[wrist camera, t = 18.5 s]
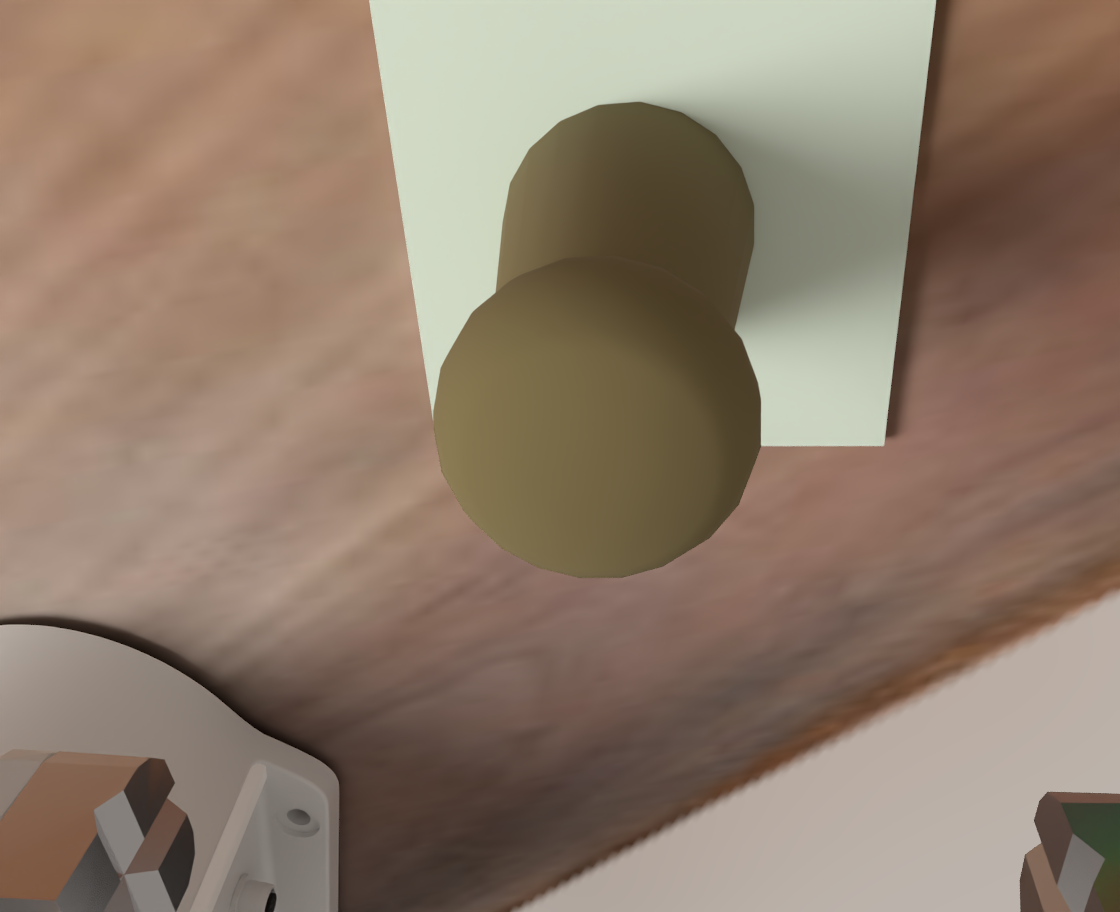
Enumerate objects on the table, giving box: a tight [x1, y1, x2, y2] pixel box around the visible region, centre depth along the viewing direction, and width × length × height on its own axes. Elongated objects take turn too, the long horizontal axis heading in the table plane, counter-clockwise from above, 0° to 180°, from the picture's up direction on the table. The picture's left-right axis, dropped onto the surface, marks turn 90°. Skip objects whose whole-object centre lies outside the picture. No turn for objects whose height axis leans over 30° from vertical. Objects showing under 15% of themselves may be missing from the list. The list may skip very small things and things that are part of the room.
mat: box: [369, 0, 936, 446], centre depth 24 cm, size 12×12×1 cm
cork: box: [433, 102, 761, 578], centre depth 19 cm, size 6×6×11 cm
